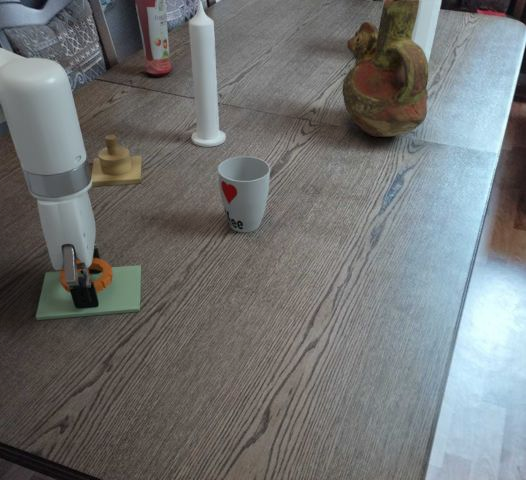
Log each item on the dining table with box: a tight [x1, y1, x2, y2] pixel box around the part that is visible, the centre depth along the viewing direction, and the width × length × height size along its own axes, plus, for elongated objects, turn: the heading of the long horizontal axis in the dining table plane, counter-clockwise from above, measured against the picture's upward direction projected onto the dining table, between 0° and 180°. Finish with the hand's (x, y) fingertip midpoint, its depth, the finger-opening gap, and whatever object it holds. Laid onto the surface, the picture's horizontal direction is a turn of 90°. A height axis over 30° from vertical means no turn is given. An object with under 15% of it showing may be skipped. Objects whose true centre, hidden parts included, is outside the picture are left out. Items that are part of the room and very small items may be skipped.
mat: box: [35, 264, 142, 321], centre depth 79 cm, size 14×10×1 cm
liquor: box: [134, 0, 173, 78], centre depth 129 cm, size 7×7×28 cm
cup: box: [217, 155, 271, 233], centre depth 88 cm, size 8×8×10 cm
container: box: [379, 0, 443, 64], centre depth 142 cm, size 14×14×18 cm
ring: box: [60, 258, 113, 293], centre depth 77 cm, size 7×7×1 cm
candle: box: [188, 0, 227, 148], centre depth 105 cm, size 7×7×25 cm
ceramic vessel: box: [342, 0, 429, 138], centre depth 109 cm, size 17×26×25 cm, turn 27°
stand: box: [91, 134, 143, 187], centre depth 101 cm, size 9×9×7 cm
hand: (89, 287), depth 79 cm, fingers closed on ring, 7 cm apart
